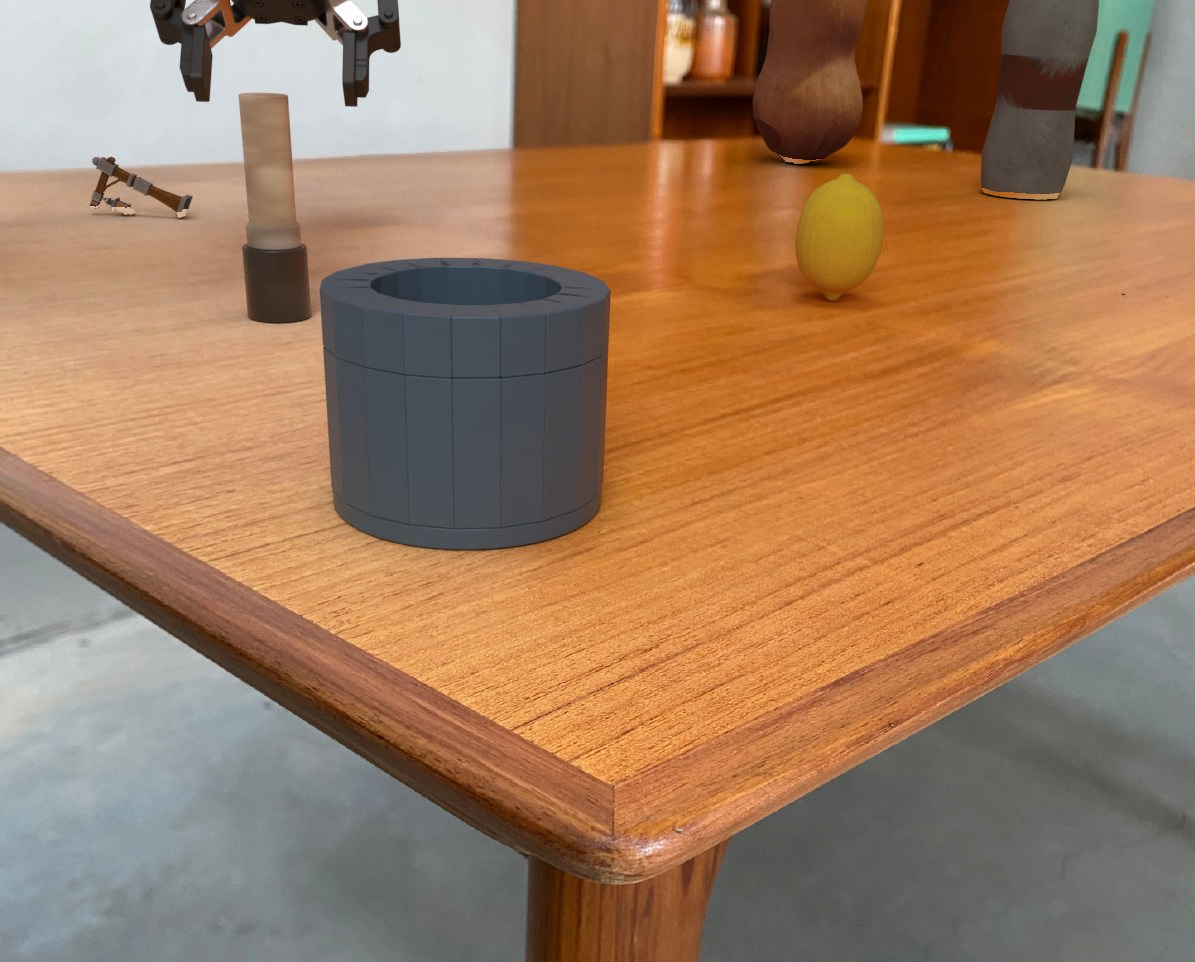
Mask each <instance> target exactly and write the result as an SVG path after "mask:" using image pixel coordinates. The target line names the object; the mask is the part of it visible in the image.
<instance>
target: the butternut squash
mask: <svg viewBox="0 0 1195 962" xmlns="http://www.w3.org/2000/svg"><path fill="white" fill-rule="evenodd" d="M867 3H868V0H770V4H769V5H770V6H769V24H768V26H769V27H768V28H769V29H768V31H769V32H768V37H767V38H768V39H767V47H766V56H765V59H764V62H763V65H762V68H761V71H760V73H759V75H758V77H757V81H756V85H755V89H754V94H753V96H752V115H753V118H754V121H755V124H756V126H757V129H758V131H759V133H760V135H761V137H762V140H763V141H764V143H765V145H766V146H767V148H768V149H769V150H770V151H771V152H773V153H774V154H776V155H777V156H779V155H781V156H783V157H788V158H792V159H803V160H816V159H823V160H824V159H826V158H827V157H829V156H831V155H832V154H834V153H837V152H838V151H840V150H841V149H843V148H844V147H846V146H847V144H849V143H850V142H851V140H852V139H853V137H854V136H855V134H856V132H858V129H859V127H860V124H861V121H862V118H863V109H864V108H863V106H864V105H863V101H864V100H863V99H864V97H863V92H862V87H861V80H860V78H859V73H858V70H857V65H856V58H855V57H856V51H857V47H858V43H859V40H860V37H861V33H862V30H863V26H864V23H865V17H866V12H867V11H866V10H867Z"/></svg>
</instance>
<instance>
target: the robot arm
mask: <svg viewBox="0 0 1195 962" xmlns="http://www.w3.org/2000/svg"><path fill="white" fill-rule="evenodd" d="M376 1H377V15H373V16H369V17H368V16H366V15H365V14H364V13H363V12H362V11H361V10H360V9H359V8H358V7H357V5H355V3H354V2H353V1H352V0H194V1H192V2H191V3H190V4H189V5H188V6H187V7H186V3H187V0H150V2H149V8H150V12H151V15H152V18H153V21H154V24H155V28H156V31H157V35H158V38H159V40H160V43H162V44H164V45H167V46H174V45H176V44H177V43H178V44H180V56H179V70H180V71H179V72H180V74H181V77H182V80H183V84H184V86H185V90H186V91H187V93H193V95H194V98H195V102H198V103H210V102H211V88H212V87H211V86H212V73H213V71H212V70H213V56H214V55H213V51H212V50H213V48H214V47H215V46H217V44H218V43H220V41H222V40H223V39H224V38H225V37H228V38H232V37H234V36H235V35H237V34H238V33H239V32H240V31H241V30H242V29H243V28H244V27H245V26H246V25H247V24H248V23H249V22H250V21H252V20H254V24H255V25H271V24H277V23H278V24H279V23H285V24H289V25H293V26H306V27H307V26H309V22H312V21H314V22H315V23H316V24H317V25H318V26H319V27H320V28H321V29H322V30H323V31H324V32H325V34H326V35H327V36H329V38H330V39H331V40H332V41H338V43H339V44H340V45H341V46H342V70H341V71H342V72H341V75H342V77H341V79H342V80H341V81H342V82H341V83H342V90H343V91H342V92H343V100H344V106H345V107H353V108H357V107H358V98H360V99H362V98H363V99H366V98H367V96H368V94H369V92H370V58H371V56H372V54H373V53H375V52H376V51H380V50H383V52H386V53H389V54H394V53H397V52H398V51H400V49H401V48H402V42H401V40H402V39H401V27H400V10H399V0H376ZM231 3H232V4H231Z"/></svg>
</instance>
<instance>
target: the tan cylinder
mask: <svg viewBox="0 0 1195 962" xmlns="http://www.w3.org/2000/svg"><path fill="white" fill-rule="evenodd" d="M289 104H290V103H289V96H288V94H286V93H277V92H276V93H275V92H242V93H241V92H240V93H238V106H239V115H240V116H239V119H240V131H241V141H242V154H243V167H244V178H245V190H246V192H245V193H246V202H247V203H246V204H247V216H248V222H246V223H245V235H246V243H244V244H243V245H242V246H241V250H242V252H241V253H242V264H243V275H244V277H243V278H244V288H245V300H246V301H245V302H246V309H247V310H246V311H247V317H248V318H249V319H250V320H252V321H256V322H259V323H260V322H261V323H271V324H272V323H273V324H274V323H275V324H276V323H277V324H281V323H282V324H283V323H296V322H301V321H304V320H307V319H309V318H310V317H311V316H312V303H311V287H310V272H309V257H308V255H309V254H308V246H307V244H305V243H303V242H302V231H301V224H300V222H297V212H296V211H297V210H296V209H297V208H296V195H295V180H294V179H295V178H294V165H293V164H294V163H293V151H292V149H293V148H292V135H291V119H290V106H289Z"/></svg>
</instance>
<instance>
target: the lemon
mask: <svg viewBox="0 0 1195 962" xmlns="http://www.w3.org/2000/svg"><path fill="white" fill-rule="evenodd" d="M802 207H803V208H802V210H801V212H800V216H799V219H798V223H797V226H796V233H795V240H794V243H795V245H794V246H795V247H794V250H795V258H796V259H795V260H796V263H797V266H798V268H799V270H800V273H801V274H802V276H803V277H804V278H805V280H806V281H807V282H808V283H809V284H811V286H814V287H815V288H816V289H818V290H819V291H820V292H821V293H822V295H823V296H824V297H825V298H826V299H827V300H828V301H831V302H833V301H837V300H838V299H839V298H841V297H842V296H843V295H844V294H845V293H846V292H848V291H849V290H854V289H855V288H857V287H859V286H861V285H862V284H863V283H864V282H866V280H867V279H868V278H869V277H870V276H871V274H872V273H873V271H874V269H875V268H876V265H877V264H878V261H879V258H880V256H881V252H882V249H883V248H882V247H883V241H884V221H883V220H884V219H883V212H882V209H881V208H882V207H881V204H880V203H879V201H878V198H877V197H876V196H875V194H874V193H873V192H872V190H871V189H870V188H869V187H867V186H866V185H864V184H863V183H862V182H859V181H858V180H856V179H855V177H854V176H853V175H852V174H851V173H847V172H846V173H845V172H844V173H840V174H839V176H837V178H835V179H833V180H830V181H828V182H825V183H823V184H821V186H819V187H818V188H817V189H815V190H814V191H813V192H812V193H811V194H810V195H809V197H808V198H807V199H806V201H805V203H804V204H803V206H802Z"/></svg>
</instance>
